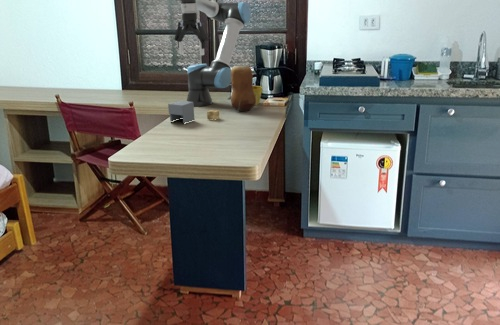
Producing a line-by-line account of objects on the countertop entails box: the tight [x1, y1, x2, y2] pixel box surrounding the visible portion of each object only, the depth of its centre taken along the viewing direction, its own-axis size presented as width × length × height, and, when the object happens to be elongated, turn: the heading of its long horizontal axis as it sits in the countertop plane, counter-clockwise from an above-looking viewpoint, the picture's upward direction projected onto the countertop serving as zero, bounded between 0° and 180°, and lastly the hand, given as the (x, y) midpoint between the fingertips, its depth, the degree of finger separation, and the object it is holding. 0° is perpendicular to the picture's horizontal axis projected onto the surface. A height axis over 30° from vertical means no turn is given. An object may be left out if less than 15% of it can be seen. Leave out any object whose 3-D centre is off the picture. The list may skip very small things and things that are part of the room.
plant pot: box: [252, 85, 263, 106], centre depth 284 cm, size 10×10×10 cm
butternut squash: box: [230, 64, 256, 112], centre depth 265 cm, size 14×13×25 cm
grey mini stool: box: [167, 100, 196, 124], centre depth 247 cm, size 9×9×10 cm
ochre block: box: [206, 109, 220, 121], centre depth 252 cm, size 4×4×4 cm
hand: (191, 54), depth 255 cm, fingers open, 13 cm apart
